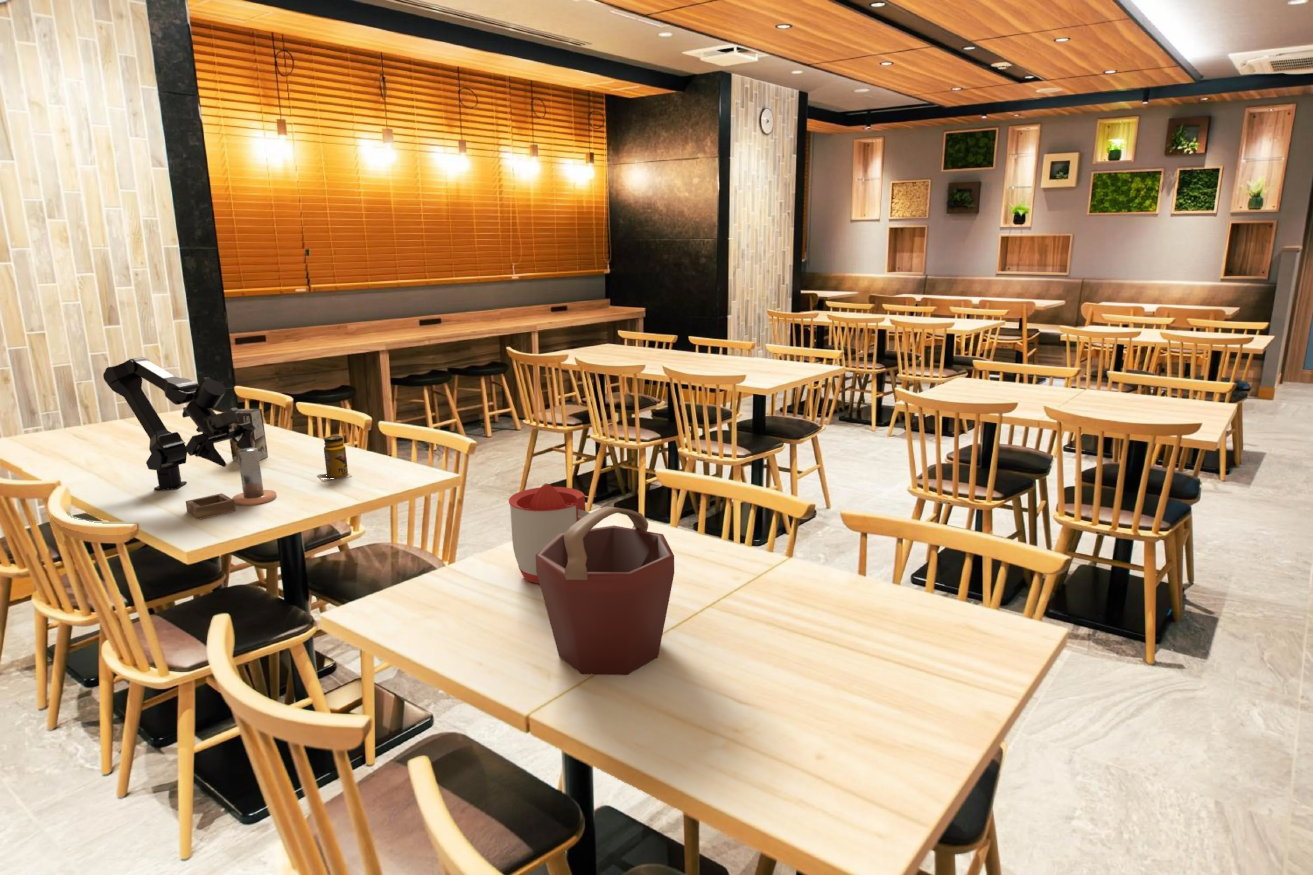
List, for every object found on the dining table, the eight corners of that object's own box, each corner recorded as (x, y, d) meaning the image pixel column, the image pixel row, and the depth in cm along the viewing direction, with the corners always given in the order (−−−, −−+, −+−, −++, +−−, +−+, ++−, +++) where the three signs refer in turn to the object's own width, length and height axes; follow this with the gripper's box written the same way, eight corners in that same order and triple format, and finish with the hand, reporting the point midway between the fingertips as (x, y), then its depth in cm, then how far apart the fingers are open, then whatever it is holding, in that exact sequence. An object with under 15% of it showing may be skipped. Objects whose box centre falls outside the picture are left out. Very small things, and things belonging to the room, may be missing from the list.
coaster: (242, 493, 233) (241, 490, 233) (282, 492, 234) (282, 489, 233) (225, 506, 222) (225, 502, 222) (267, 504, 223) (267, 501, 223)
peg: (243, 494, 229) (237, 449, 226) (263, 491, 231) (257, 446, 228) (243, 499, 224) (237, 453, 221) (264, 496, 227) (257, 450, 223)
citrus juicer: (585, 592, 165) (581, 496, 160) (502, 587, 168) (496, 493, 163) (603, 562, 180) (600, 474, 175) (527, 558, 183) (522, 471, 178)
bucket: (600, 703, 126) (594, 549, 120) (508, 657, 140) (499, 517, 134) (701, 644, 143) (701, 507, 137) (610, 608, 158) (606, 482, 152)
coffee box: (269, 456, 273) (262, 408, 269) (258, 461, 267) (251, 412, 263) (243, 456, 274) (236, 408, 270) (231, 461, 268) (224, 412, 264)
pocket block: (187, 511, 218) (185, 501, 217) (223, 503, 224) (221, 493, 224) (198, 519, 212) (197, 508, 211) (235, 510, 218) (234, 500, 217)
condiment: (352, 476, 248) (347, 438, 245) (322, 481, 244) (317, 442, 241) (346, 471, 254) (342, 433, 251) (317, 476, 250) (312, 437, 247)
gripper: (186, 406, 217) (222, 451, 215) (246, 394, 233) (280, 435, 232) (170, 433, 222) (205, 477, 220) (229, 419, 238) (262, 459, 237)
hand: (239, 461), depth 227 cm, fingers open, 9 cm apart
